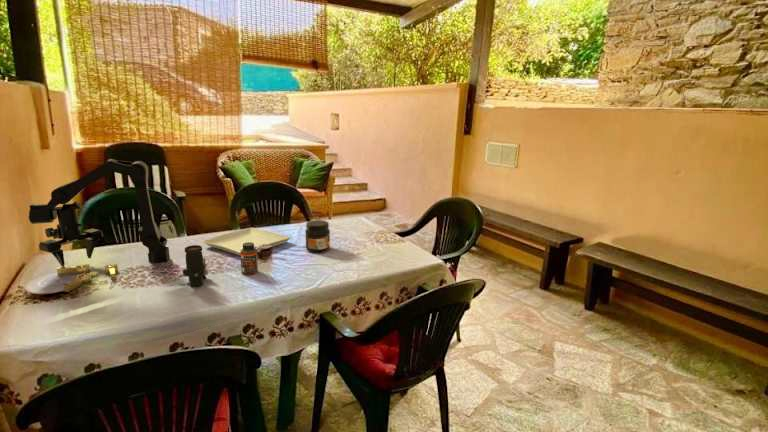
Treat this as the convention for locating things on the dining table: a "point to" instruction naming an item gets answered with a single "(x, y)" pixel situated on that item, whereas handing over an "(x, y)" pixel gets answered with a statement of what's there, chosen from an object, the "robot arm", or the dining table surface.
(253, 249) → the supplement bottle
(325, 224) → the supplement container
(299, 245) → the dining table surface
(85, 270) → the knob front
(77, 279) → the knob left
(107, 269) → the knob near
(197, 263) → the scope
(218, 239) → the square plate
